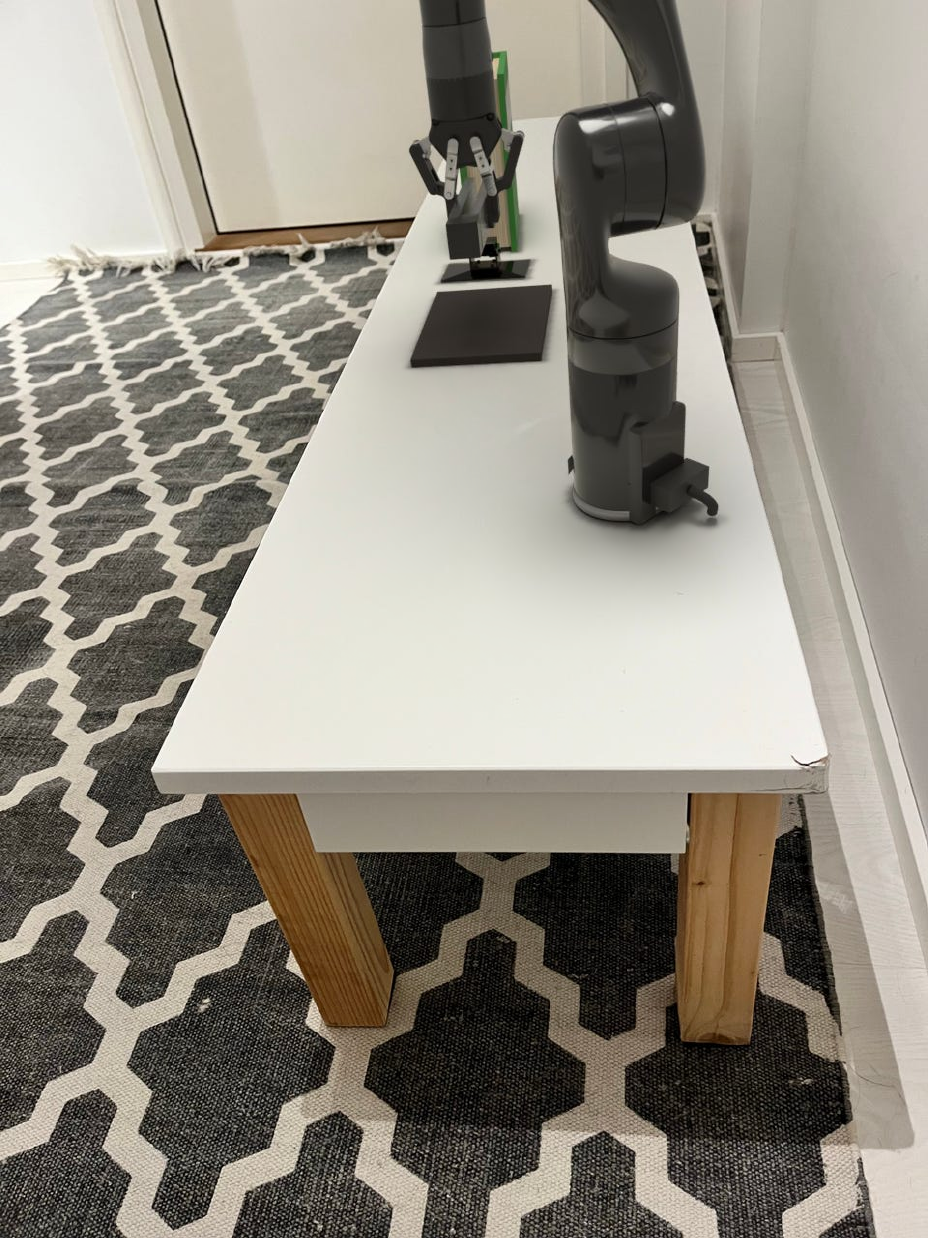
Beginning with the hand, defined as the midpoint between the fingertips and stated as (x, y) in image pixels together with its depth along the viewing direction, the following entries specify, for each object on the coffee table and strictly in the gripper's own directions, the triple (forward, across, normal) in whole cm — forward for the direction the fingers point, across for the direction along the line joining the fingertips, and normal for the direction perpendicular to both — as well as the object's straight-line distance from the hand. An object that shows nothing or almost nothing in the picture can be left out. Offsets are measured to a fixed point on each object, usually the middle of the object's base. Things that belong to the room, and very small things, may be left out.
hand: (475, 226), depth 117 cm
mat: (+13, 0, 0) cm, 13 cm away
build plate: (+13, -2, +20) cm, 24 cm away
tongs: (0, 0, 0) cm, 0 cm away
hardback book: (+13, -2, +37) cm, 39 cm away
